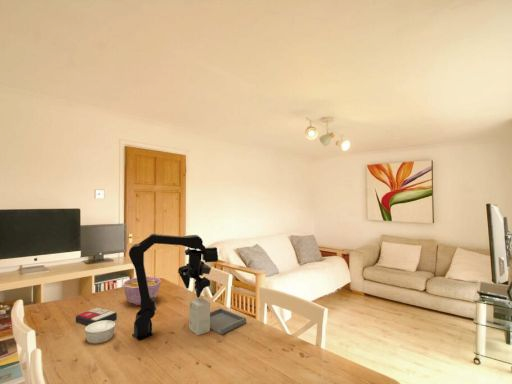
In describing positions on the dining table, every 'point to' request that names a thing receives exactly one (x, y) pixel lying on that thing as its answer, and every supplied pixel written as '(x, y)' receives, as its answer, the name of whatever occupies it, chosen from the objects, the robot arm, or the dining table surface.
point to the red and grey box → (95, 316)
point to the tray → (225, 321)
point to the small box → (199, 316)
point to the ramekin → (99, 331)
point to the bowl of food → (133, 289)
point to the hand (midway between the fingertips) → (192, 292)
